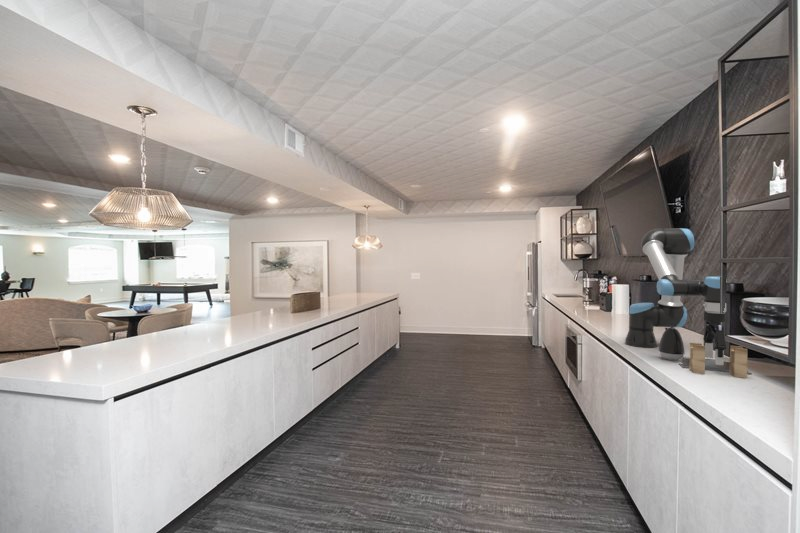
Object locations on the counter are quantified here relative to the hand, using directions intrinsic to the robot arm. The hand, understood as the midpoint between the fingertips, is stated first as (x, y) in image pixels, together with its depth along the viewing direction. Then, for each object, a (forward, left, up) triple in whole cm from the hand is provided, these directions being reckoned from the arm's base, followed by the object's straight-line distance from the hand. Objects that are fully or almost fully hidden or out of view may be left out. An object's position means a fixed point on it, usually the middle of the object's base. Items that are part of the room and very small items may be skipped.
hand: (713, 361), depth 175 cm
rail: (0, 0, -3) cm, 3 cm away
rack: (+8, -1, -3) cm, 9 cm away
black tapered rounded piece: (-13, -13, -4) cm, 19 cm away
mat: (0, 0, -3) cm, 3 cm away
